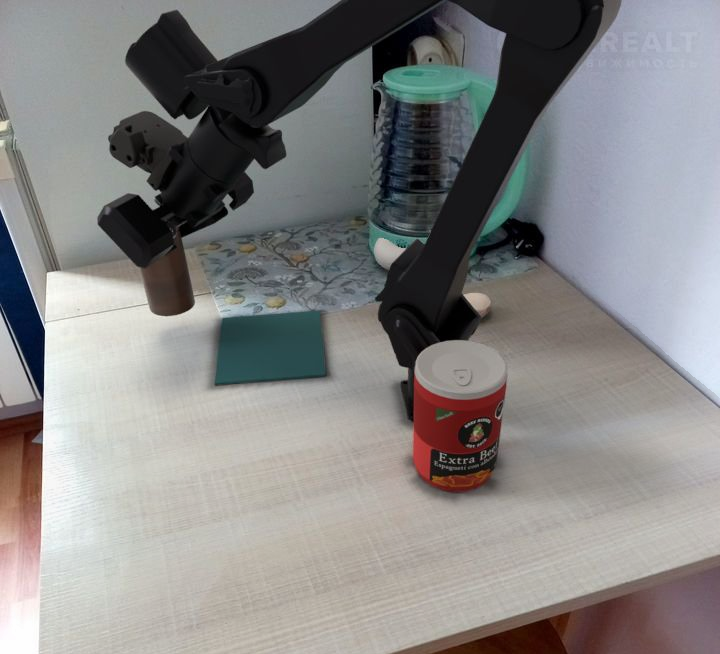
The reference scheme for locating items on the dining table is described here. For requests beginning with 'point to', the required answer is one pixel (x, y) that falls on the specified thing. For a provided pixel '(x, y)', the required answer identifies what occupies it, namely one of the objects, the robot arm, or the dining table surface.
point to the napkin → (270, 348)
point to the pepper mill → (169, 282)
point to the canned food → (458, 413)
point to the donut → (386, 252)
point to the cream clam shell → (479, 302)
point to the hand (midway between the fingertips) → (150, 249)
